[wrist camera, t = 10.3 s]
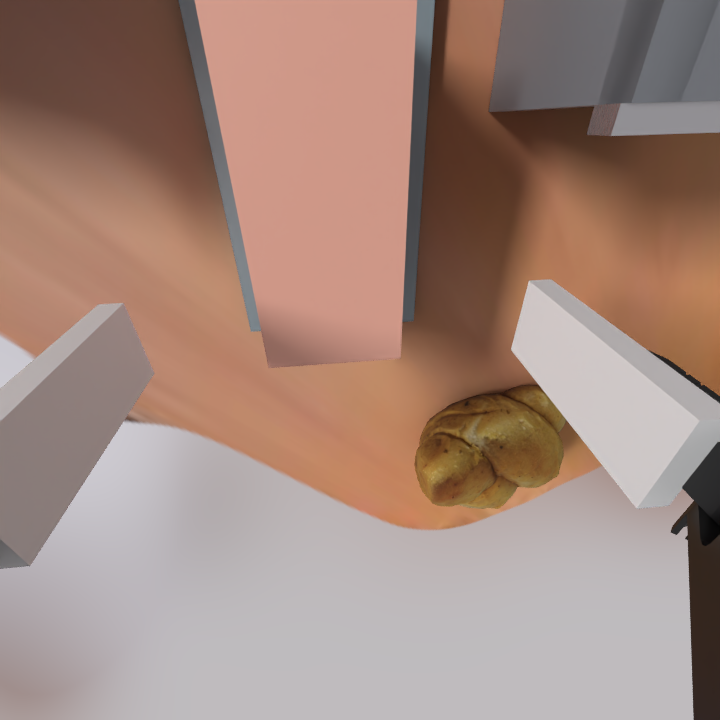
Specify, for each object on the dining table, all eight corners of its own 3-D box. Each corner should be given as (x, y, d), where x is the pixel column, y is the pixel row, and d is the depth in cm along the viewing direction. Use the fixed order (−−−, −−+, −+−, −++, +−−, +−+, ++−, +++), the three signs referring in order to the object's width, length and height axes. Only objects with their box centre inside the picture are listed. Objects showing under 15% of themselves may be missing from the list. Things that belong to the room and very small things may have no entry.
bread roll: (544, 353, 28) (612, 423, 22) (558, 430, 34) (617, 507, 27) (394, 412, 30) (414, 494, 24) (429, 477, 36) (454, 558, 29)
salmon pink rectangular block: (241, 17, 16) (182, -60, 9) (378, 16, 16) (419, -61, 9) (283, 296, 23) (268, 367, 16) (377, 290, 23) (400, 358, 16)
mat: (169, -65, 15) (162, -74, 14) (434, -64, 15) (439, -73, 15) (253, 325, 25) (251, 331, 24) (411, 315, 25) (413, 321, 25)
